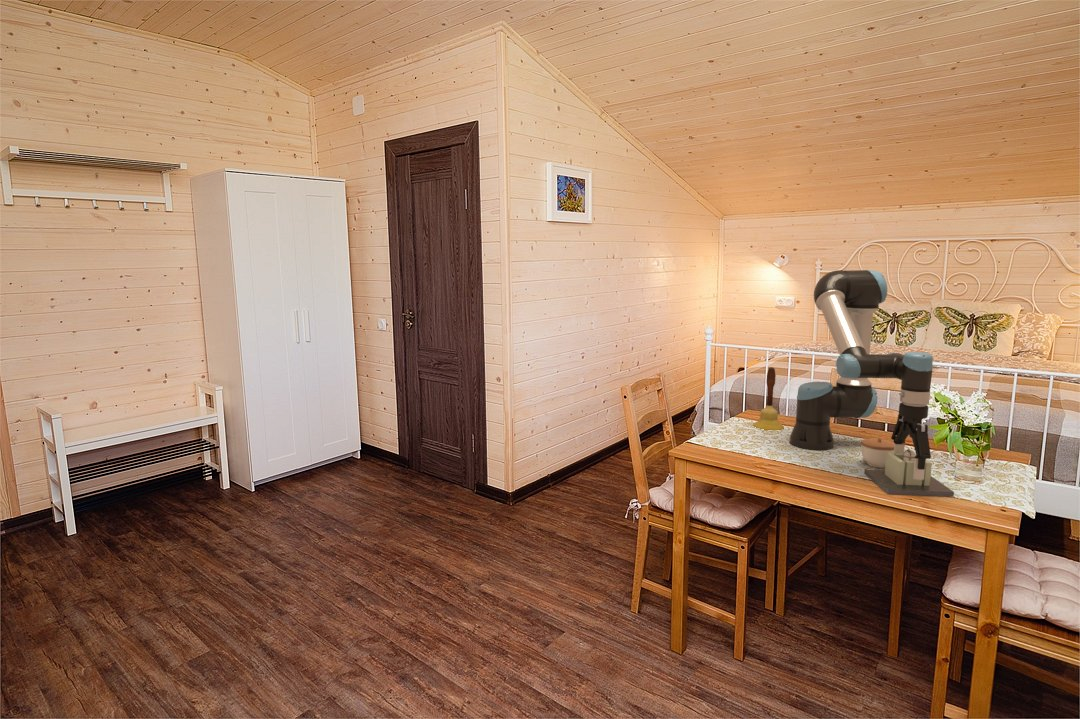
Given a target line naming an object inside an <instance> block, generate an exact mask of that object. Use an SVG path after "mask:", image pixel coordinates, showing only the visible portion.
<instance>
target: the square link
mask: <svg viewBox="0 0 1080 719" xmlns="http://www.w3.org/2000/svg"><path fill="white" fill-rule="evenodd" d="M915 456H916V453H915ZM932 466H933V463H932V462H931V461H929V460H928V459H926V462H925V472H924V480H920V479H913V471H914V461H905V462H904V461H903V454H901V453H894V454H892V453H887V457H886V467H885V468H884V470H885V475H886V476H888V477H889V478H890V479H891V480H893V481H894V482H895V483H896V484H898V485H903V483H904V484H905V485H922V484H923V485H924V486H930V477H932ZM904 468H905V471H904ZM903 479H904V482H903Z"/></svg>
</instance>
